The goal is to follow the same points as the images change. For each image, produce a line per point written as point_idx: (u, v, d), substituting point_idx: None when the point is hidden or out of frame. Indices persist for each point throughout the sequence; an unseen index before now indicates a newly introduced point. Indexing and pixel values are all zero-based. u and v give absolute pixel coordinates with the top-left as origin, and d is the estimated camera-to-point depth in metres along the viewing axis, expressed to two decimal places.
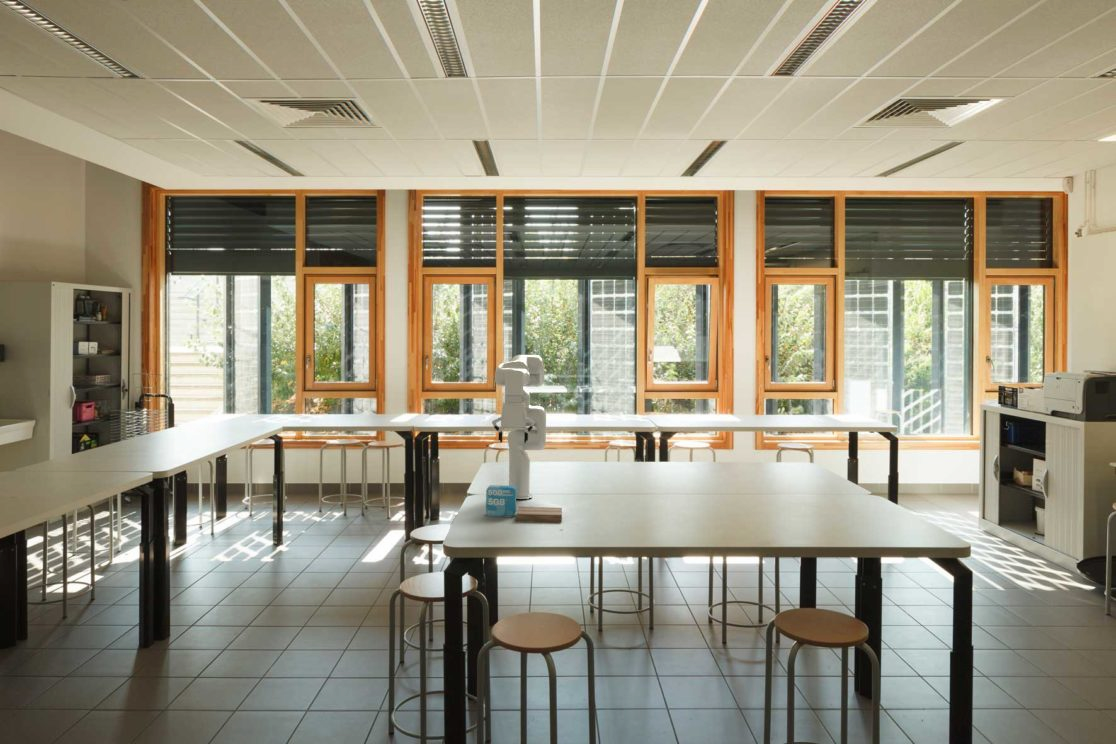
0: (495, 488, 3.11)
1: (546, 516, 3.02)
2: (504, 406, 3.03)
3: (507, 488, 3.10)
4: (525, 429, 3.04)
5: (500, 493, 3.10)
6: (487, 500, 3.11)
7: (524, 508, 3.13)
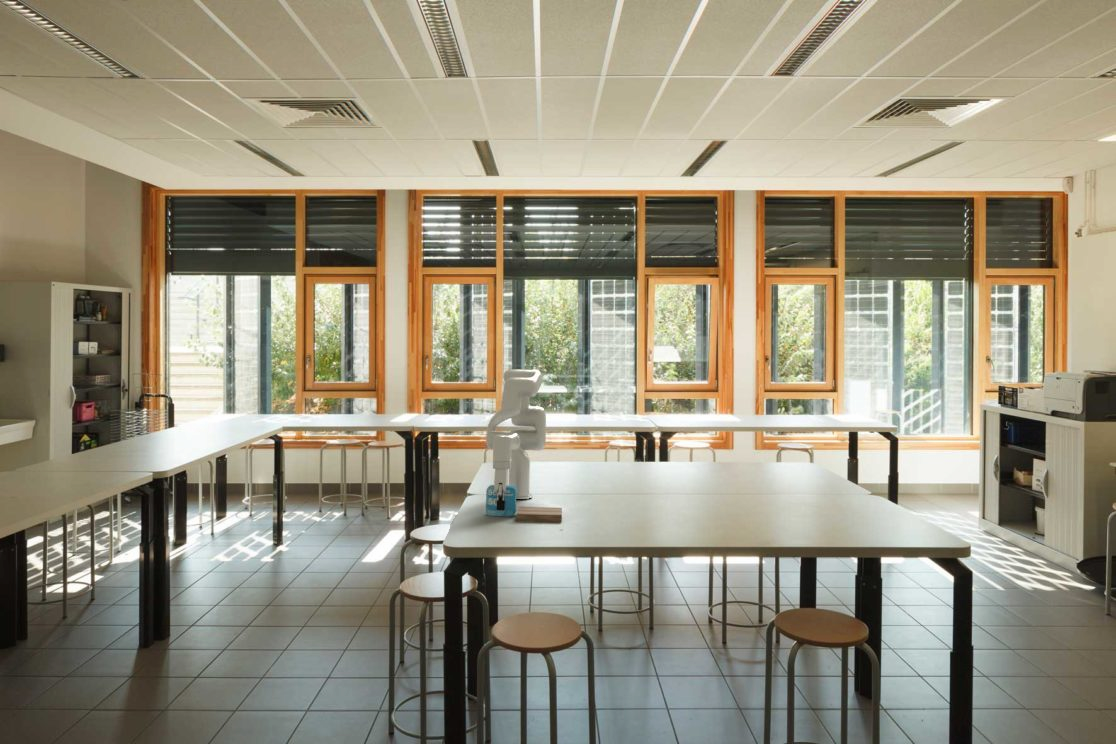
0: None
1: (546, 516, 3.02)
2: (506, 472, 3.09)
3: (507, 488, 3.10)
4: None
5: None
6: (487, 500, 3.11)
7: (524, 508, 3.13)
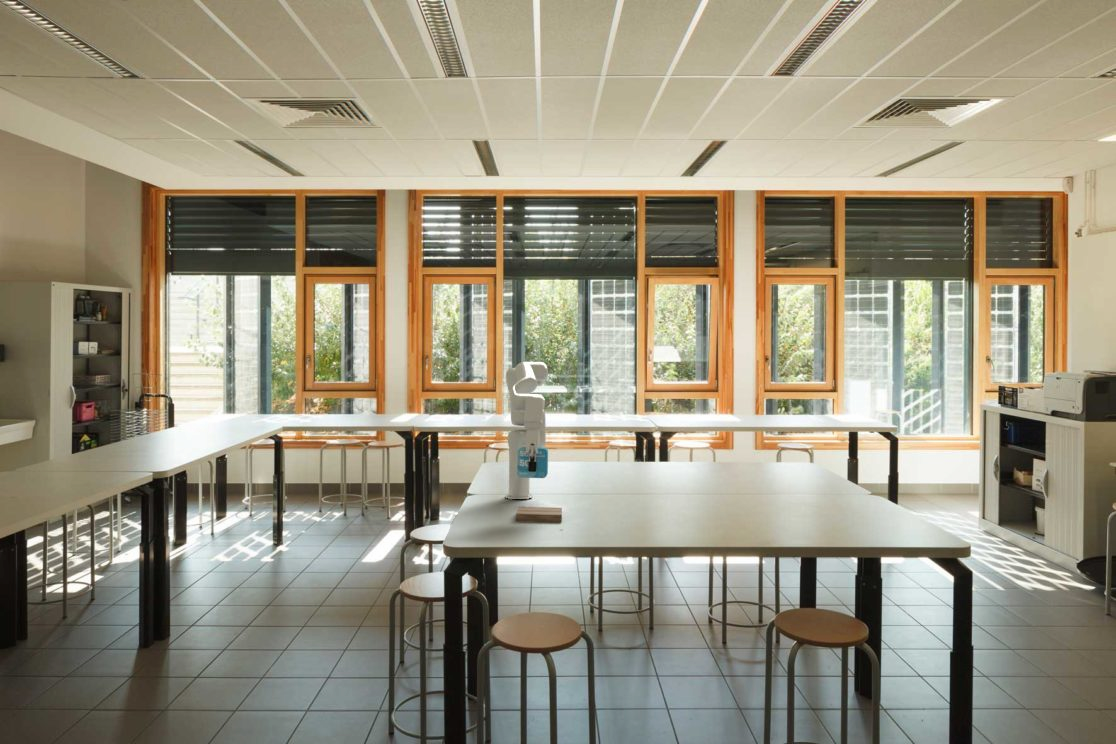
0: None
1: (546, 516, 3.02)
2: (538, 433, 3.05)
3: (539, 449, 3.07)
4: None
5: None
6: (518, 461, 3.07)
7: (524, 508, 3.13)
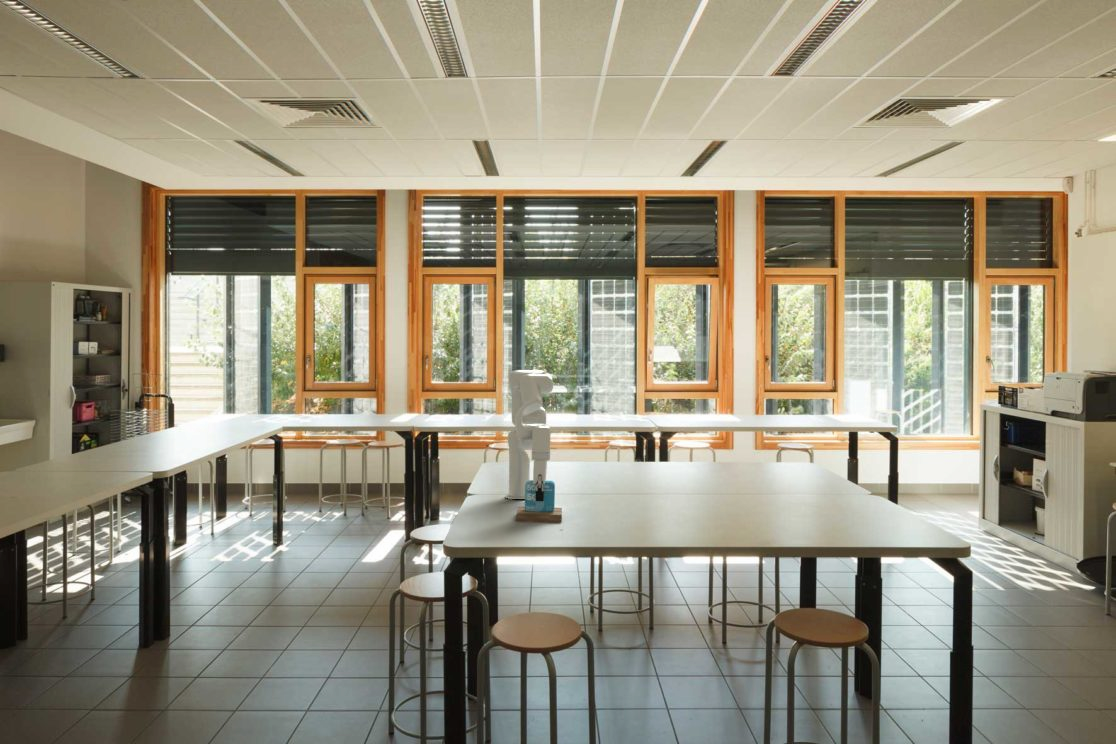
0: None
1: (546, 516, 3.02)
2: (545, 464, 3.05)
3: (546, 483, 3.06)
4: None
5: None
6: (526, 495, 3.07)
7: (524, 508, 3.13)
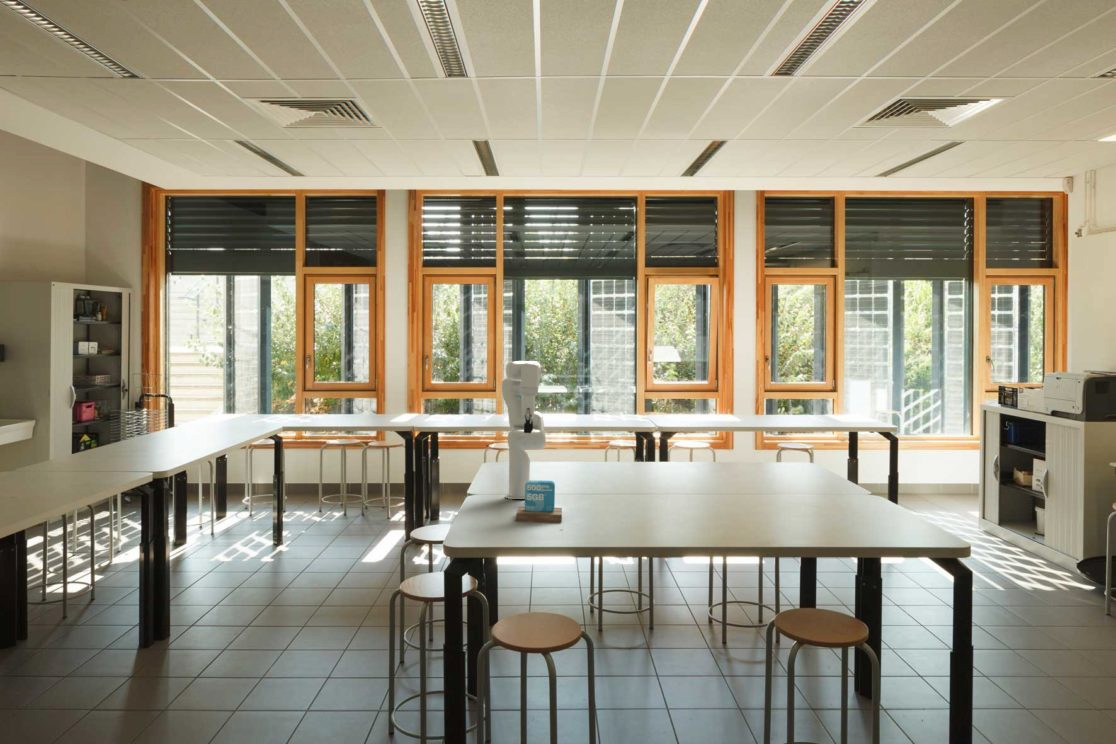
0: (534, 483, 3.06)
1: (546, 516, 3.02)
2: (533, 398, 3.21)
3: (546, 483, 3.06)
4: (532, 418, 3.30)
5: (539, 488, 3.06)
6: (526, 495, 3.07)
7: (524, 508, 3.13)
